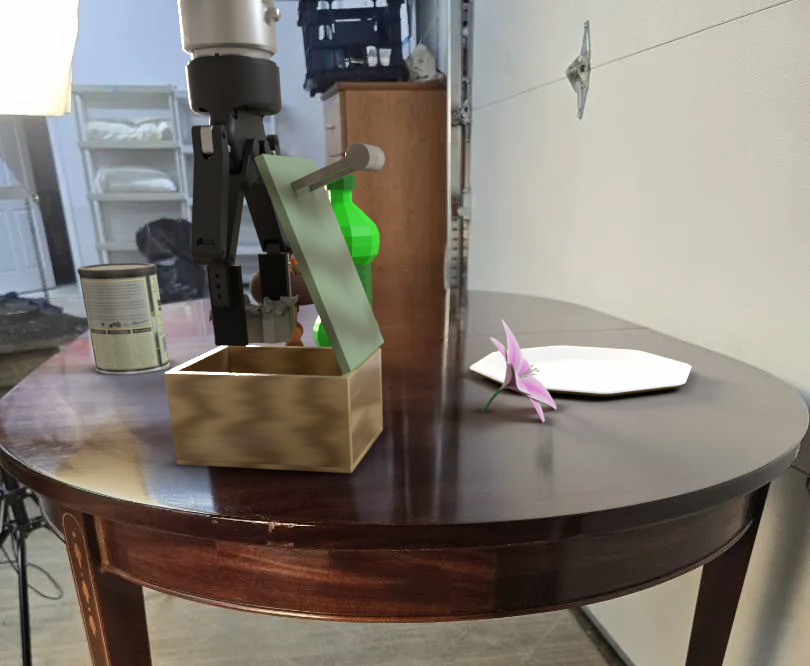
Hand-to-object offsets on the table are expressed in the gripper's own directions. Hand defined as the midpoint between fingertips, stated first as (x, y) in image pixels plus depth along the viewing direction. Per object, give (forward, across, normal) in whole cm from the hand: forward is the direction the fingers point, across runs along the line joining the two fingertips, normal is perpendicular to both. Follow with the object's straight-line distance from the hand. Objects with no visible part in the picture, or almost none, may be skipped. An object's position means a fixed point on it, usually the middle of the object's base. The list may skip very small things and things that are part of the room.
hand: (256, 333), depth 72 cm
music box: (+11, +27, +6) cm, 30 cm away
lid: (-6, 0, -7) cm, 9 cm away
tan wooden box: (+11, 0, -2) cm, 11 cm away
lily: (+11, +15, -24) cm, 30 cm away
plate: (+11, +36, -31) cm, 49 cm away
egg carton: (0, 0, 0) cm, 0 cm away
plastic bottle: (+11, +44, +3) cm, 46 cm away
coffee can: (+11, +33, +32) cm, 47 cm away
